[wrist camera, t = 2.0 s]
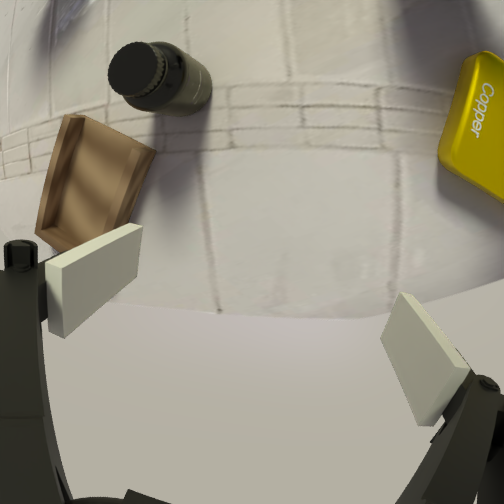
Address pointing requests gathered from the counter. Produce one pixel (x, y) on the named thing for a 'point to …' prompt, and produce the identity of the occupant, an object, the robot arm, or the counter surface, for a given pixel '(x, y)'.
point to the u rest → (90, 182)
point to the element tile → (477, 125)
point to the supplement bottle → (159, 79)
